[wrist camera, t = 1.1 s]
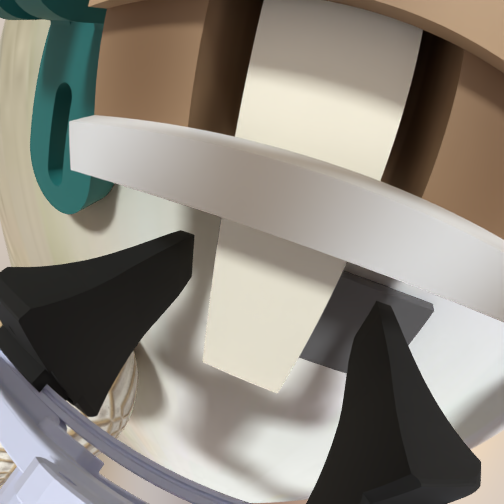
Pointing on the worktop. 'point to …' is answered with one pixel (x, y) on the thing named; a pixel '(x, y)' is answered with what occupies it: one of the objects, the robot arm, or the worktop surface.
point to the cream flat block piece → (313, 145)
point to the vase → (108, 418)
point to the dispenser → (304, 167)
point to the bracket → (63, 95)
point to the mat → (359, 319)
